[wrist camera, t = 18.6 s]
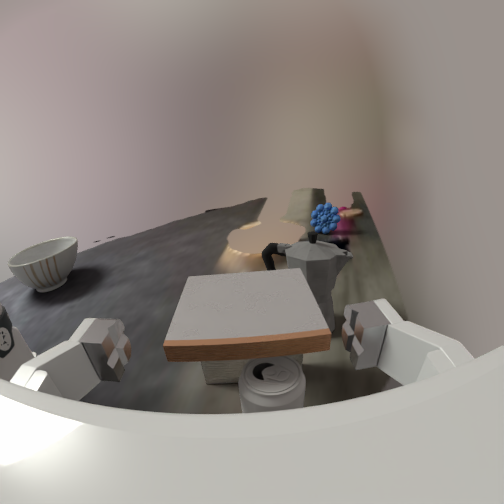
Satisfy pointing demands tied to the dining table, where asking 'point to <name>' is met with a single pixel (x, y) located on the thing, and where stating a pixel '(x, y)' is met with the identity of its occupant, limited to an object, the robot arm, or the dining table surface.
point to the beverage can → (271, 385)
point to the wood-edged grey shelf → (245, 321)
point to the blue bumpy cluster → (325, 218)
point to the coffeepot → (313, 268)
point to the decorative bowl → (45, 263)
